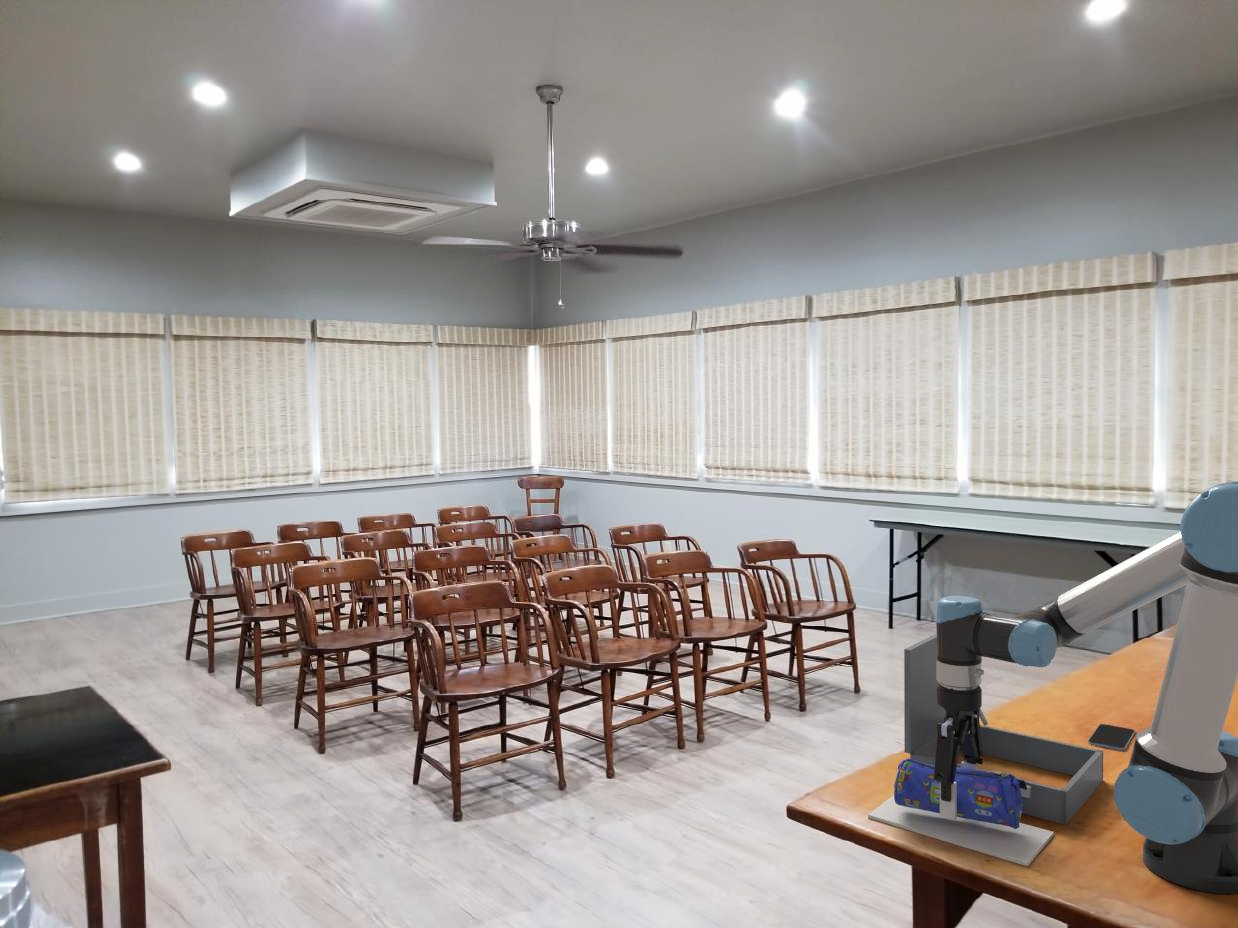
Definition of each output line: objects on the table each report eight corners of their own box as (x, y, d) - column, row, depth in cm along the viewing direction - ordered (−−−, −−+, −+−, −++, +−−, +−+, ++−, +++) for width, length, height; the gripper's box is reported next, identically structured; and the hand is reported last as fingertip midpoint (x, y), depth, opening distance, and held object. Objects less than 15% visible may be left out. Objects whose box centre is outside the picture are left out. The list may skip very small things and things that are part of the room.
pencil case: (1027, 818, 160) (1027, 765, 159) (1023, 839, 152) (1023, 783, 152) (899, 795, 170) (899, 746, 170) (890, 813, 163) (889, 761, 162)
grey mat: (1027, 866, 147) (1027, 862, 147) (868, 817, 165) (868, 814, 165) (1053, 835, 157) (1053, 831, 157) (900, 792, 176) (900, 789, 176)
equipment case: (1064, 826, 160) (1066, 677, 159) (902, 782, 180) (902, 649, 179) (1102, 780, 180) (1104, 647, 178) (952, 745, 200) (952, 625, 198)
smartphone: (1136, 729, 206) (1124, 748, 194) (1136, 733, 206) (1124, 753, 194) (1099, 723, 211) (1086, 741, 199) (1099, 727, 211) (1086, 745, 199)
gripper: (956, 703, 149) (956, 835, 150) (1002, 673, 165) (1001, 792, 167) (912, 695, 154) (913, 823, 155) (961, 666, 170) (961, 782, 172)
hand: (959, 807), depth 161 cm, fingers closed on pencil case, 9 cm apart
